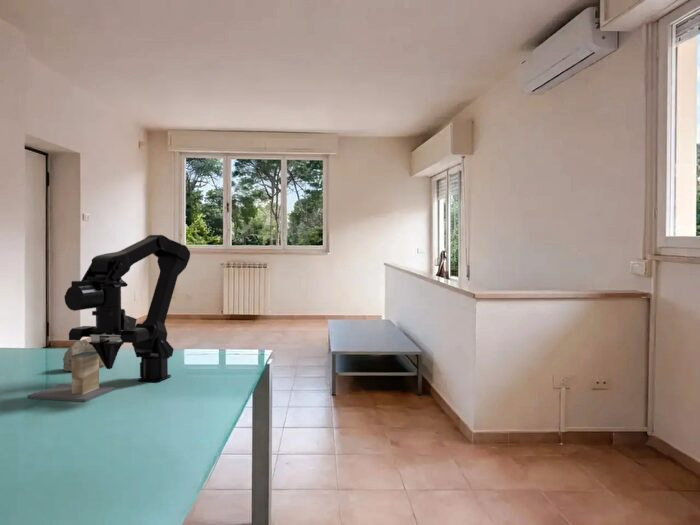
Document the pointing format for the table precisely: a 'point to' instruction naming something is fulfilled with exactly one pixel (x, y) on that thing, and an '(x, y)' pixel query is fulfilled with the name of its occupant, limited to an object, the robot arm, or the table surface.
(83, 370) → the wooden block
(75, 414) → the table surface
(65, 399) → the mat
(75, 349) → the rock
